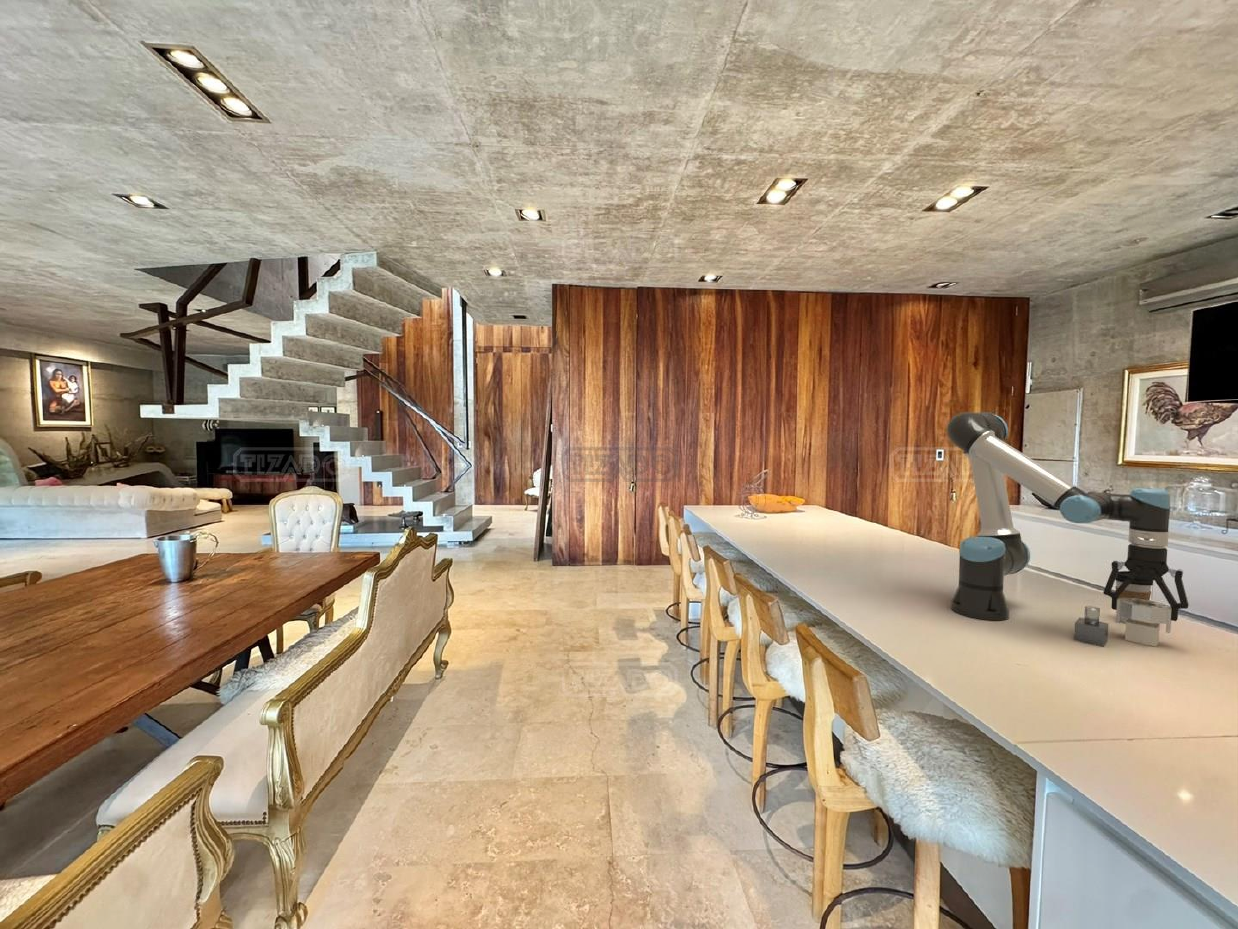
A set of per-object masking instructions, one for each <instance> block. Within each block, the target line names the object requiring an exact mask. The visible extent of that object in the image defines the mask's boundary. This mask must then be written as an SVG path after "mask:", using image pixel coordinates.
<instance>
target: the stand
mask: <svg viewBox="0 0 1238 929" xmlns="http://www.w3.org/2000/svg"><path fill="white" fill-rule="evenodd" d="M1100 613H1101V608H1099V607H1096V606H1093V605H1085V606H1084V617H1080V616H1079V617H1078V618H1077V619H1076V621H1075V622H1074V635H1073V636H1074V638H1073V640H1074V641H1077V642H1082V643H1084V644H1089V645H1090V644H1091V645H1093V646H1097V647H1098V646H1099V647H1103V648H1104V647H1105V646H1106V644H1107V643H1108V640H1109V639H1108V638H1109V623H1108V622H1103V621H1100V617H1101V616H1100Z"/></svg>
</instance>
